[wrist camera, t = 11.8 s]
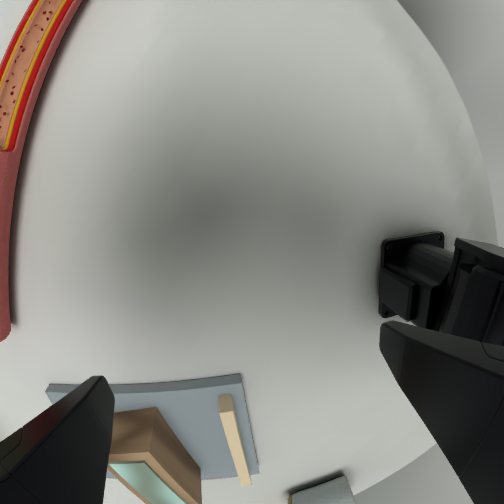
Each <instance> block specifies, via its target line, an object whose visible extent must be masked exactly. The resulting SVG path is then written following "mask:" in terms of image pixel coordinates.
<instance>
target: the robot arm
mask: <svg viewBox="0 0 504 504" xmlns="http://www.w3.org/2000/svg"><path fill="white" fill-rule="evenodd" d="M439 236H440V237H439ZM438 238H439V239H438ZM388 244H389V245H390V246H389V248H388V249H387V245H388ZM454 246H455V251H454V252H451V251H449V250H446V249H444V234H443V233H442V232H439V231H437V232H431V233H424V234H418V235H412V236H405V237H399V238H393V239H387V240H385V241H384V242H383V243H382V247H381V269H380V285H379V300H380V305H379V314H380V316H381V317H383V318H388V317H392V316H395V315H399V316H400V317H402V318H403V319H404V320H405V321H407V322H409V321H411V322H412V323H413V324H414V325H416V326H413V325H409V324H405V323H401V322H397V321H393V320H392V321H388V322H385V323H383V324H382V325H381V327H380V342H379V347H380V351H381V353H382V355H383V357H384V358H385V360H386V362H387V364H388V366H389V368H390V370H391V372H392V374H393V375H394V377H395V379H396V381H397V383H398V385H399V386H400V388H401V389H402V391H403V392H404V394H405V395H406V397H407V398H408V400H409V401H410V403H411V404H412V406H413V407H414V409H415V410H416V412H417V413H418V415H419V416H420V418H421V419H422V421H423V422H424V424H425V425H426V427H427V428H428V430H429V431H430V433H431V434H432V436H433V437H434V439H435V441H436V442H437V444H438V445H439V447H440V448H441V450H442V451H443V453H444V455H445V456H446V458H447V459H448V461H449V463H450V464H451V466H452V467H453V469H454V471H455V472H456V474H457V476H459V479H460V481H461V483H462V484H463V486H464V487H465V489H466V491H467V493H468V494H469V496H470V498H471V499H472V501H473V503H474V504H504V248H502V247H498V246H495V245H492V244H487V243H482V242H477V241H472V240H467V239H462V238H456V239H455V244H454ZM386 310H387V311H386ZM385 311H386V312H385ZM384 312H385V313H384ZM114 407H115V397H114V394H113V392H112V390H111V388H110V386H109V384H108V382H107V380H106V378H105V377H104V376H92V377H90V378H89V379H87V380H86V381H85V382H83V383H82V384H81V385H79V386H78V387H76V388H75V389H74V390H72V391H71V392H70V393H68V394H67V395H65V396H64V397H63V398H61V399H60V400H59V401H57V402H56V403H54V404H53V405H52V406H50V407H49V408H48V409H46V410H45V411H43V412H42V413H41V414H39V415H38V416H37V417H35V418H34V419H32V420H31V421H30V422H28V423H27V424H25V425H24V426H23V428H20V429H18V430H17V431H16V432H14V433H13V434H11V435H10V436H9V437H7V438H6V439H4V440H3V441H1V442H0V504H103V497H104V489H105V481H106V474H107V467H108V461H109V454H110V448H111V442H112V434H113V419H114Z"/></svg>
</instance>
